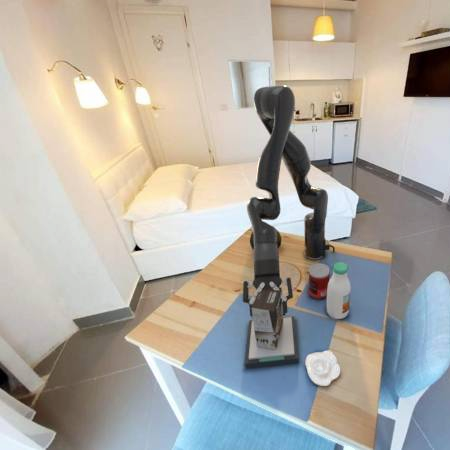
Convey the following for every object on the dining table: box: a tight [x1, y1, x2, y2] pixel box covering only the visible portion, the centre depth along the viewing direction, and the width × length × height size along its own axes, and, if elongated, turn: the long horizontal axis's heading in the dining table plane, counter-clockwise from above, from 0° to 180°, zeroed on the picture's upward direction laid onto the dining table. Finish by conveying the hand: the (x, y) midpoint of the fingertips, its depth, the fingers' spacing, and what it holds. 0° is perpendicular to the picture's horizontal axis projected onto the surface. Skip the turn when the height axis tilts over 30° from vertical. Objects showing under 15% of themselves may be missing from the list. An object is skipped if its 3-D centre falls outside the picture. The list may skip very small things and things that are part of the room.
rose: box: [304, 350, 341, 387], centre depth 69 cm, size 10×4×10 cm
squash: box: [249, 220, 282, 251], centre depth 121 cm, size 14×15×15 cm
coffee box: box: [252, 286, 284, 350], centre depth 73 cm, size 9×6×16 cm
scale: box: [244, 315, 299, 370], centre depth 77 cm, size 15×15×3 cm
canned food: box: [308, 263, 331, 300], centre depth 94 cm, size 8×8×11 cm
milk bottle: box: [326, 261, 352, 320], centre depth 84 cm, size 8×8×20 cm
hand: (269, 316), depth 71 cm, fingers open, 8 cm apart
